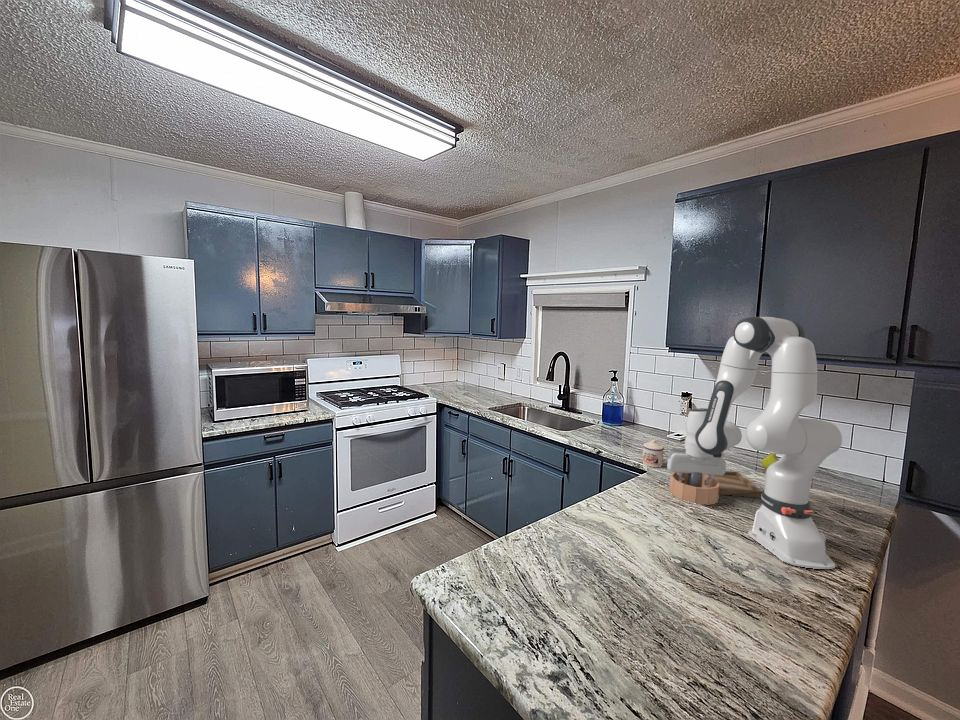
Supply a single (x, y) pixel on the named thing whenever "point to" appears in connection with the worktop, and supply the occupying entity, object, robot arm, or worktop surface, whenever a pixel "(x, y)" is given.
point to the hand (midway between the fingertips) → (694, 483)
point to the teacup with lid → (653, 454)
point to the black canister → (694, 479)
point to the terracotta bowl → (694, 490)
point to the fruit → (769, 460)
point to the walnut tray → (736, 485)
